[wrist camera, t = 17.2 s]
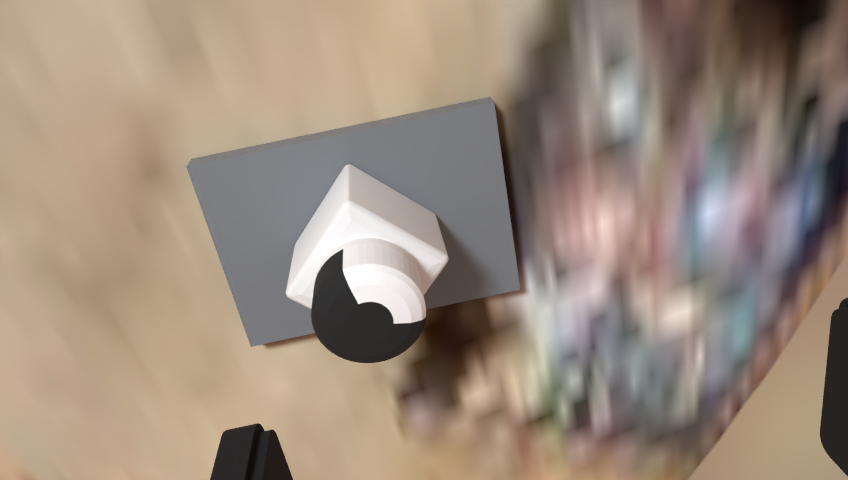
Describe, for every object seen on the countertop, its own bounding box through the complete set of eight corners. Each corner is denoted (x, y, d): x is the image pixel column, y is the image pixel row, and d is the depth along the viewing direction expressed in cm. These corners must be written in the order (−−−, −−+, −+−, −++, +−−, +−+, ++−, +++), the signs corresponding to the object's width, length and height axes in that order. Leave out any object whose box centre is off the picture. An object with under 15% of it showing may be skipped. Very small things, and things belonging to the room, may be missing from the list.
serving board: (489, 97, 43) (494, 102, 42) (515, 280, 49) (520, 289, 48) (191, 159, 43) (186, 166, 42) (253, 335, 49) (251, 346, 48)
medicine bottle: (381, 292, 47) (390, 399, 36) (292, 246, 45) (273, 344, 34) (437, 213, 45) (464, 301, 34) (347, 160, 43) (345, 236, 32)
